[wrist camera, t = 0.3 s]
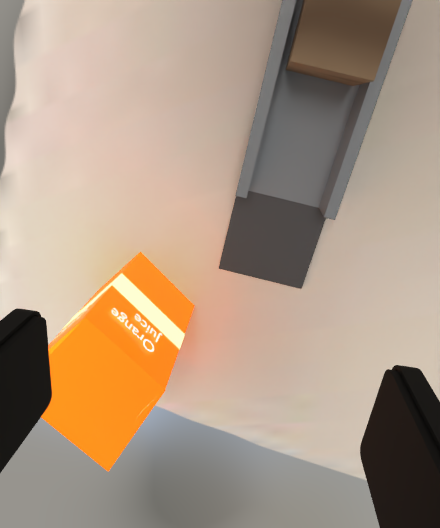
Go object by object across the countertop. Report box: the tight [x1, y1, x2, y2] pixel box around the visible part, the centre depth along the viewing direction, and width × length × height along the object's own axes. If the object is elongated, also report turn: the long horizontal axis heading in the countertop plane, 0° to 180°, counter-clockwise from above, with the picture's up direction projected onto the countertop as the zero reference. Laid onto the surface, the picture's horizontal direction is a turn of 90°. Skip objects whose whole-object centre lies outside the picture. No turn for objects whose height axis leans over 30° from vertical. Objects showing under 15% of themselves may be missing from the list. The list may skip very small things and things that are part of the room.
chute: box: [236, 0, 412, 220], centre depth 33 cm, size 18×9×4 cm, turn 167°
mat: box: [219, 191, 326, 289], centre depth 40 cm, size 9×9×1 cm
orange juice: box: [41, 252, 194, 471], centre depth 35 cm, size 8×9×20 cm
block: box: [285, 0, 402, 86], centre depth 29 cm, size 6×6×7 cm
